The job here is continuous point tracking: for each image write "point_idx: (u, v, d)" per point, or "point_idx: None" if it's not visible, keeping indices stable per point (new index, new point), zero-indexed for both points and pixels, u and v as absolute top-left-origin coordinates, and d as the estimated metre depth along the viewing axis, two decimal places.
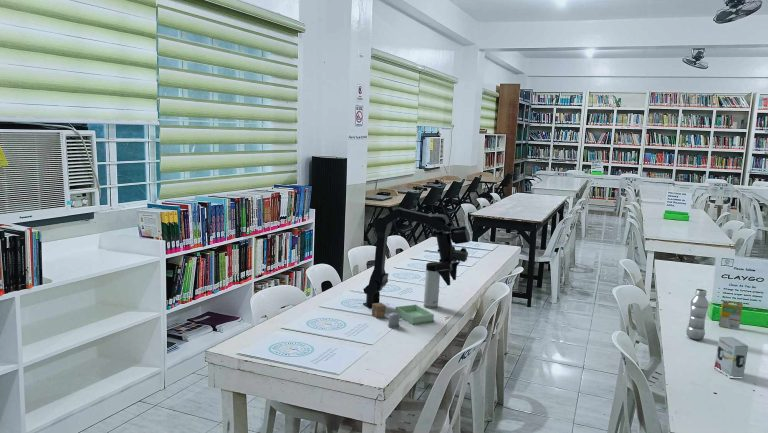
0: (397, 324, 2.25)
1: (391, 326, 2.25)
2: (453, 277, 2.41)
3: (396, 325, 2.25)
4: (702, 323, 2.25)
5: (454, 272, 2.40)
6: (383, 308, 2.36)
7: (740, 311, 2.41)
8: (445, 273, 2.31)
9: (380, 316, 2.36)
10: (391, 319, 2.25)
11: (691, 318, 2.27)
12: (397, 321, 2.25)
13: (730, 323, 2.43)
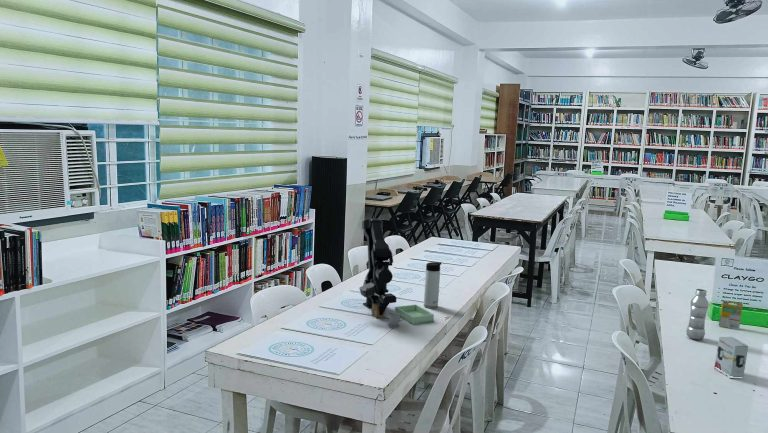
0: (397, 324, 2.25)
1: (391, 326, 2.25)
2: None
3: (396, 325, 2.25)
4: (702, 323, 2.25)
5: None
6: None
7: (740, 311, 2.41)
8: None
9: (380, 316, 2.36)
10: (391, 319, 2.25)
11: (691, 318, 2.27)
12: (397, 321, 2.25)
13: (730, 323, 2.43)
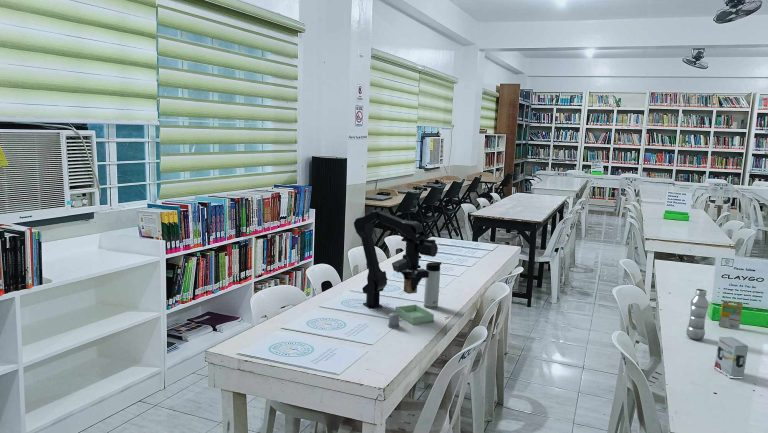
0: (397, 324, 2.25)
1: (391, 326, 2.25)
2: None
3: (396, 325, 2.25)
4: (702, 323, 2.25)
5: None
6: None
7: (740, 311, 2.41)
8: None
9: (412, 292, 2.37)
10: (391, 319, 2.25)
11: (691, 318, 2.27)
12: (397, 321, 2.25)
13: (730, 323, 2.43)
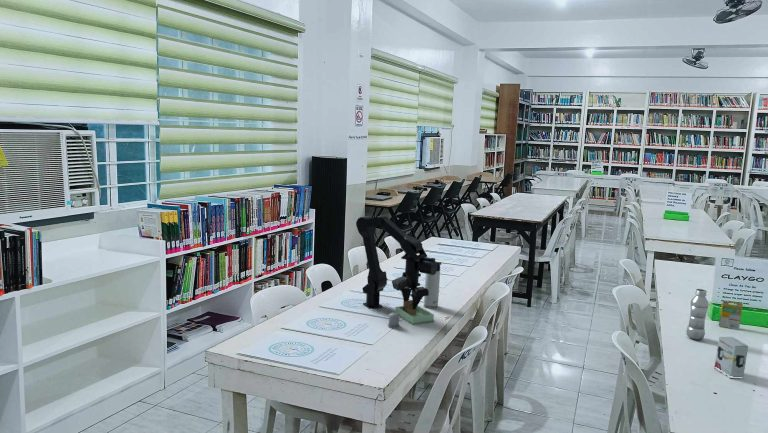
0: (397, 324, 2.25)
1: (391, 326, 2.25)
2: None
3: (396, 325, 2.25)
4: (702, 323, 2.25)
5: None
6: None
7: (740, 311, 2.41)
8: None
9: (411, 313, 2.39)
10: (391, 319, 2.25)
11: (691, 318, 2.27)
12: (397, 321, 2.25)
13: (730, 323, 2.43)
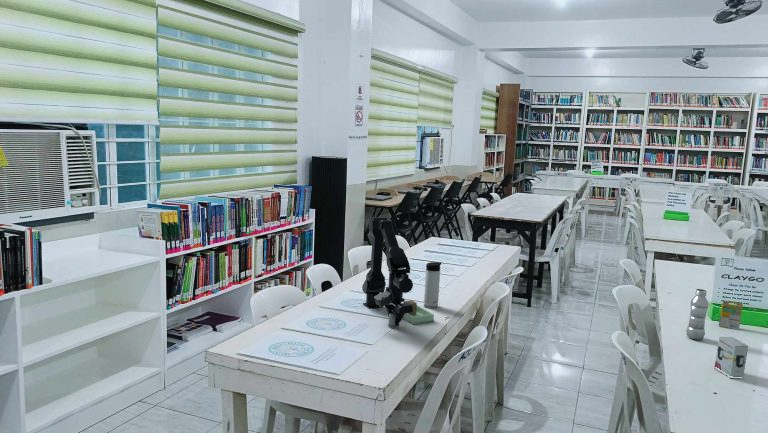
0: None
1: (391, 326, 2.25)
2: None
3: None
4: (702, 323, 2.25)
5: None
6: (414, 305, 2.39)
7: (740, 311, 2.41)
8: None
9: (411, 313, 2.39)
10: (391, 319, 2.25)
11: (691, 318, 2.27)
12: None
13: (730, 323, 2.43)
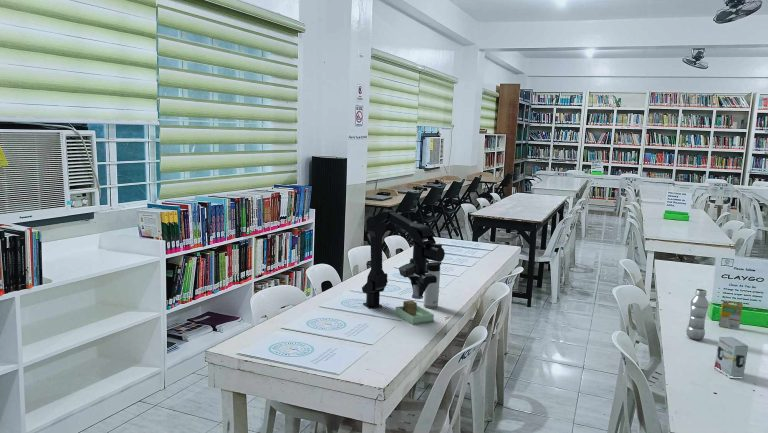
0: None
1: (415, 297, 2.31)
2: None
3: None
4: (702, 323, 2.25)
5: None
6: (414, 305, 2.39)
7: (740, 311, 2.41)
8: None
9: (411, 313, 2.39)
10: (415, 290, 2.31)
11: (691, 318, 2.27)
12: None
13: (730, 323, 2.43)
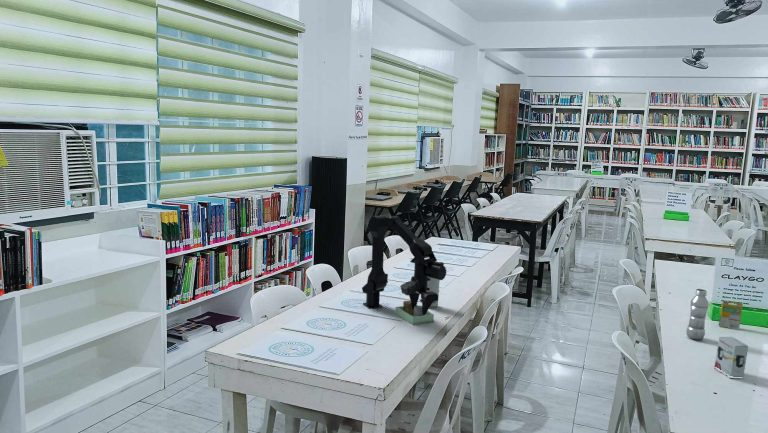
0: None
1: None
2: None
3: None
4: (702, 323, 2.25)
5: None
6: None
7: (740, 311, 2.41)
8: None
9: (411, 313, 2.39)
10: (416, 312, 2.33)
11: (691, 318, 2.27)
12: None
13: (730, 323, 2.43)
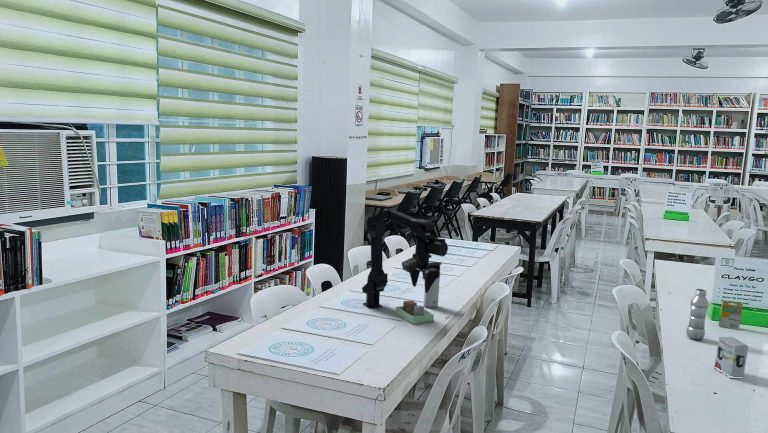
0: None
1: None
2: None
3: None
4: (702, 323, 2.25)
5: None
6: (414, 305, 2.39)
7: (740, 311, 2.41)
8: None
9: (411, 313, 2.39)
10: (416, 312, 2.33)
11: (691, 318, 2.27)
12: (422, 314, 2.33)
13: (730, 323, 2.43)
